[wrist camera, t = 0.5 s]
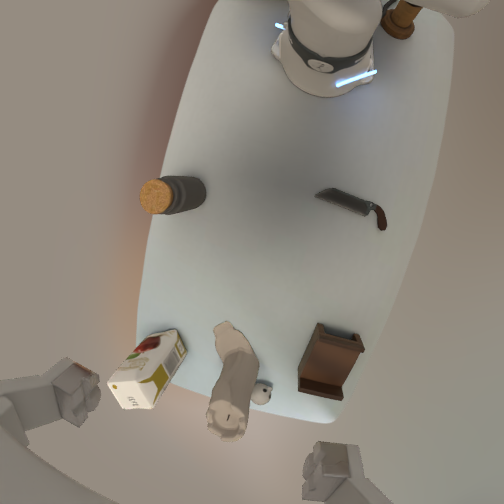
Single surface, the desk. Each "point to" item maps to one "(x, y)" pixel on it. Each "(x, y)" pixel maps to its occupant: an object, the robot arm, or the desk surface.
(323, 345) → the wooden u-shaped stand
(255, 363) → the candle
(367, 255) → the desk surface
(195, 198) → the bottle
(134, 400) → the juice carton
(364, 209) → the knife
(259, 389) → the figurine
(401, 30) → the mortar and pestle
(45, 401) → the robot arm
